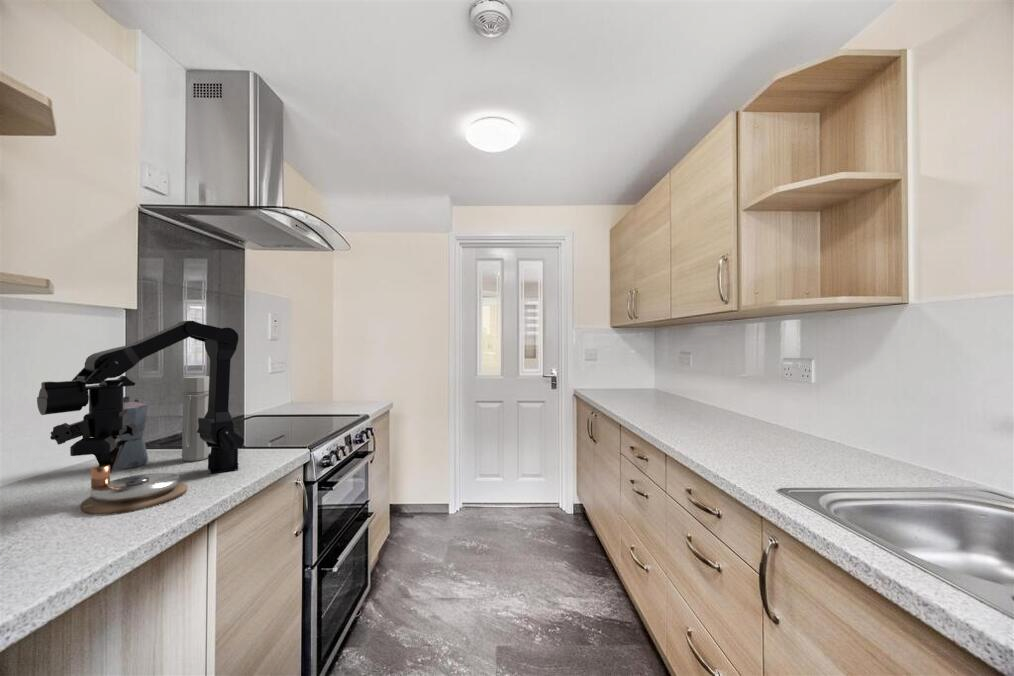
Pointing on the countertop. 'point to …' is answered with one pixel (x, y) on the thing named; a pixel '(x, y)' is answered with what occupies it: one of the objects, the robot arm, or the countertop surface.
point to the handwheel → (128, 485)
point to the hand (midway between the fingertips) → (106, 475)
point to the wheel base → (132, 502)
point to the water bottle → (194, 417)
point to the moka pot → (133, 436)
